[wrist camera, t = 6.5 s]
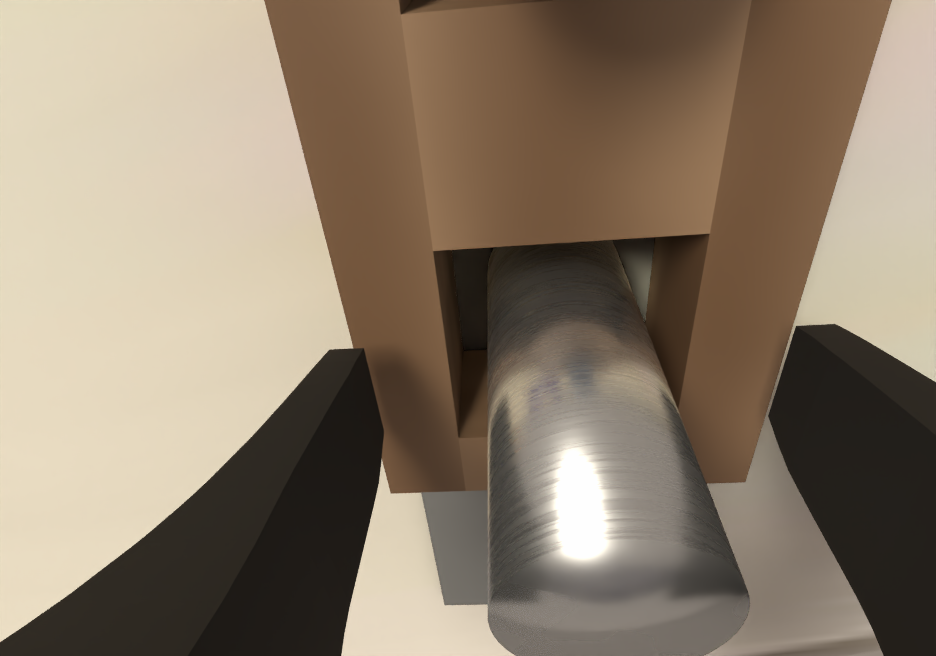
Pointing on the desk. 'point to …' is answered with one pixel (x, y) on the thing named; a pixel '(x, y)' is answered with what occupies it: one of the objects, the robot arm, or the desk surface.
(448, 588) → the rubber mat
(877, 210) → the desk surface
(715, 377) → the walnut hole block
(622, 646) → the steel pin
